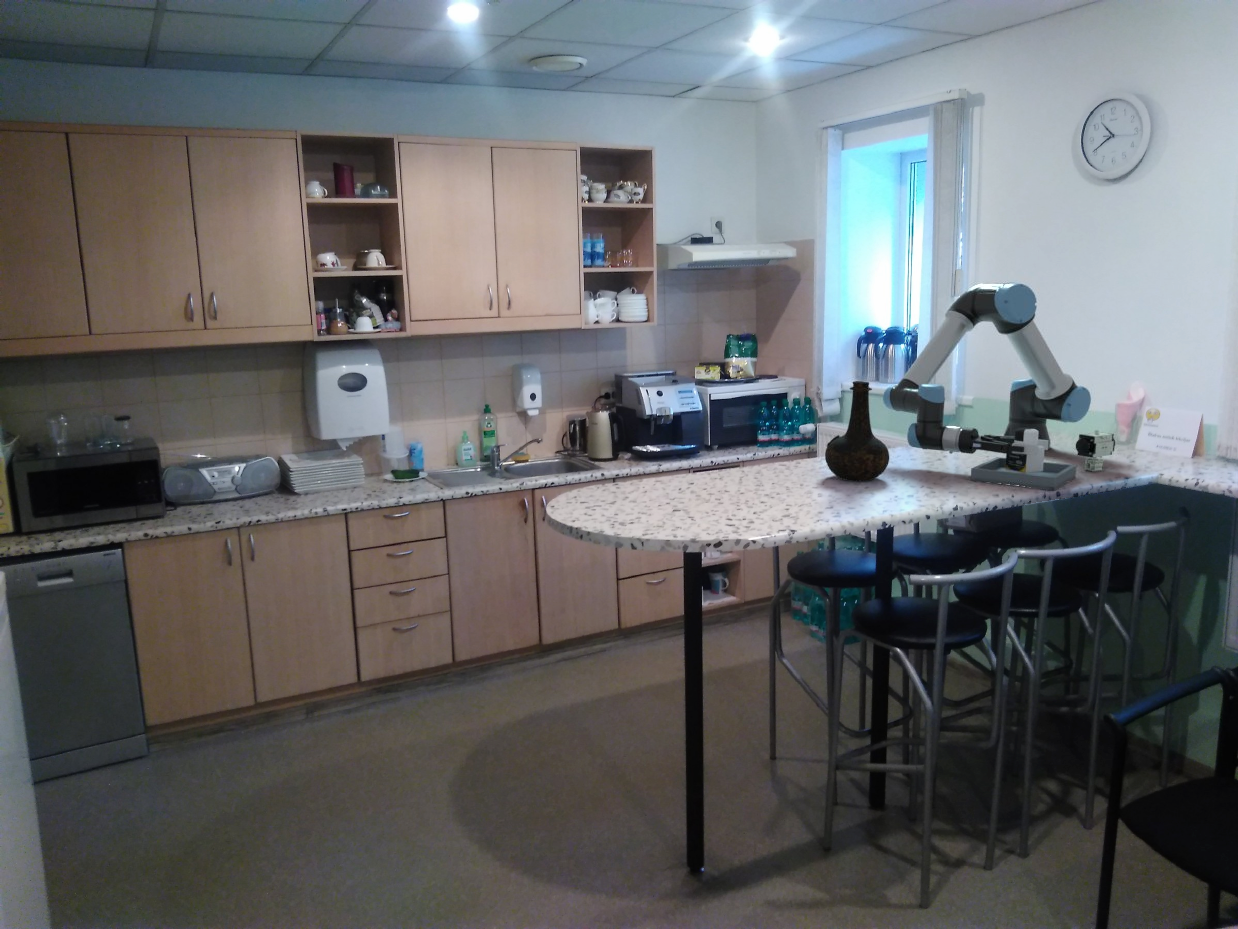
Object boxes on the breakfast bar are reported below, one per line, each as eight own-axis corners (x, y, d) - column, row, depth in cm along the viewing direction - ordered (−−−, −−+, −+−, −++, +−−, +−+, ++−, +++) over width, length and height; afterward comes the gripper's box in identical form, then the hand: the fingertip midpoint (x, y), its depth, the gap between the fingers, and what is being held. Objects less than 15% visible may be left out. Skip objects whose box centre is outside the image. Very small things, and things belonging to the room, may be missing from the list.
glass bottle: (835, 470, 274) (838, 377, 269) (895, 475, 265) (900, 379, 260) (815, 481, 259) (818, 382, 254) (878, 487, 250) (883, 385, 245)
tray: (996, 468, 274) (996, 456, 273) (1075, 477, 260) (1076, 465, 259) (970, 480, 257) (971, 468, 257) (1053, 491, 243) (1055, 478, 243)
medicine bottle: (1004, 469, 260) (1007, 427, 258) (1022, 467, 263) (1025, 426, 261) (1025, 474, 254) (1028, 431, 251) (1043, 471, 257) (1046, 429, 254)
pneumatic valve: (1072, 471, 268) (1076, 430, 266) (1099, 467, 274) (1102, 427, 271) (1089, 474, 264) (1093, 433, 261) (1116, 470, 269) (1120, 430, 266)
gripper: (973, 447, 277) (1052, 455, 263) (947, 458, 261) (1029, 467, 246) (975, 422, 276) (1054, 429, 262) (948, 432, 259) (1031, 439, 245)
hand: (1042, 447), depth 254 cm, fingers closed on medicine bottle, 9 cm apart
